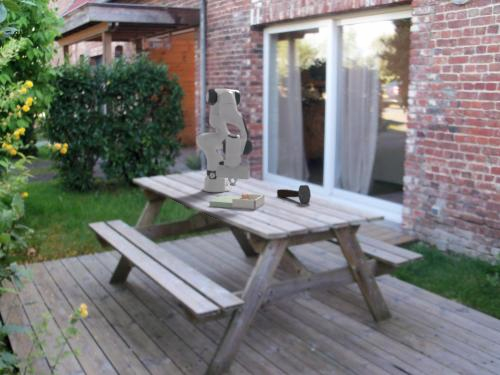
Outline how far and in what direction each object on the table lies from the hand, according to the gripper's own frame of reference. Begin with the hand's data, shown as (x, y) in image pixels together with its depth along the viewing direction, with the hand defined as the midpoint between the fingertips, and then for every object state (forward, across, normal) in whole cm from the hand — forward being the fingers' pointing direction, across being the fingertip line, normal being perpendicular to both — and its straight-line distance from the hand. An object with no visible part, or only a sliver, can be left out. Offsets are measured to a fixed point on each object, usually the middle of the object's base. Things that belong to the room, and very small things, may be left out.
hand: (232, 185), depth 341 cm
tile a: (+9, -4, -7) cm, 12 cm away
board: (+12, +5, -3) cm, 14 cm away
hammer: (+12, -29, -30) cm, 44 cm away
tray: (+12, -9, -4) cm, 15 cm away
